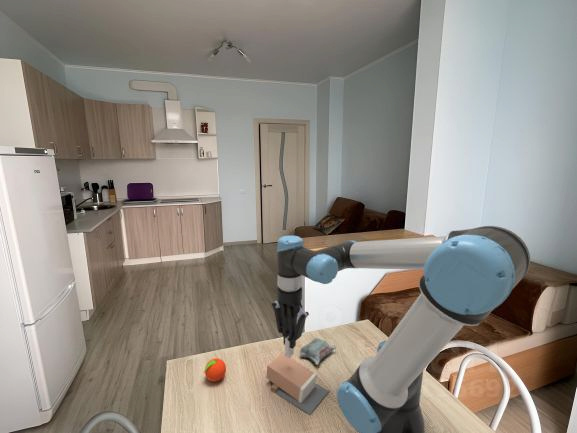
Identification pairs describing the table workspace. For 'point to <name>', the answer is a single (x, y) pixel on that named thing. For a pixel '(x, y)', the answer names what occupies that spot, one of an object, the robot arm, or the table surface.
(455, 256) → the robot arm
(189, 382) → the table surface
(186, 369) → the table surface
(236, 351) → the table surface
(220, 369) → the clementine
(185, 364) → the table surface
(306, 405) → the mat
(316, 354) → the packaged food
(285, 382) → the terracotta block
